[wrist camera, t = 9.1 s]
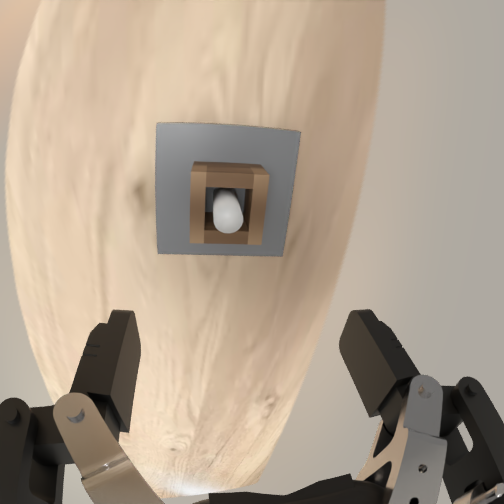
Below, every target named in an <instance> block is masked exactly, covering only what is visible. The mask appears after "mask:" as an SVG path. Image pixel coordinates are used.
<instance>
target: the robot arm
mask: <svg viewBox="0 0 504 504" xmlns="http://www.w3.org/2000/svg"><path fill="white" fill-rule="evenodd" d="M339 349H340V353H341V355H342V357H343V360H344V362H345V364H346V366H347V368H348V370H349V372H350V375H351V377H352V379H353V381H354V384H355V386H356V388H357V390H358V393H359V395H360V397H361V399H362V402H363V404H364V406H365V408H366V411H367V413H368V415H369V417H374V416H378V415H381V417H382V420H381V421H380V423H379V426H378V429H377V432H376V436H375V439H374V442H373V445H372V448H371V451H370V454H369V457H368V459H367V462H366V463H365V465H364V467H363V468H362V469H361V471H360V472H359V474H358V476H357V478H356V480H352V477H351V474H346V475H343V476H339V477H335V478H331V479H326V480H322V481H318V482H316V483H314V484H312V485H309V486H307V487H305V488H303V489H300V490H298V491H296V492H293V493H291V494H288V495H271V494H260V493H251V492H234V493H209V499H206V500H202V501H199V502H196V503H193V504H436V503H437V499H438V495H439V490H440V486H441V481H442V478H443V480H444V483H445V486H446V488H447V491H448V494H449V497H450V499H451V502H452V504H504V423H503V421H502V420H501V418H500V416H499V414H498V412H497V410H496V409H495V407H494V405H493V403H492V402H491V400H490V398H489V397H488V395H487V393H486V392H485V390H484V388H483V387H482V385H481V384H480V383H479V382H478V381H477V380H475V379H474V378H472V377H463V378H462V379H461V380H460V381H459V382H458V384H457V385H456V386H441V385H440V384H439V383H438V381H436V380H435V379H434V378H432V377H430V376H428V375H421V374H420V373H419V371H418V370H417V368H416V367H415V365H414V363H413V362H412V360H411V359H410V357H409V356H408V354H407V352H406V351H405V349H404V348H402V345H401V343H400V342H399V340H397V337H396V336H395V334H394V333H393V331H392V330H391V328H389V327H388V326H387V325H386V324H385V323H383V322H382V321H379V320H378V319H377V317H376V316H375V314H374V313H373V311H372V310H370V309H366V310H353V311H351V312H350V314H349V316H348V319H347V322H346V324H345V327H344V330H343V332H342V335H341V337H340V341H339ZM140 356H141V344H140V338H139V333H138V328H137V323H136V318H135V313H134V311H129V310H113V311H112V312H111V315H110V318H109V321H108V323H107V324H106V323H99V324H98V325H97V326H96V327H95V328H94V329H93V330H92V331H91V332H90V335H89V337H88V340H87V343H86V346H85V348H84V351H83V356H82V357H81V360H80V362H79V365H78V368H77V371H76V374H75V378H74V381H73V384H72V387H71V390H70V392H69V394H66V395H64V396H62V397H61V398H60V399H59V400H58V401H57V402H56V404H55V405H52V406H45V407H33V408H29V406H28V405H27V404H26V403H25V402H24V401H23V400H21V399H19V398H9V399H6V400H4V401H3V402H2V403H1V404H0V504H62V496H63V481H64V468H65V464H73V463H75V464H76V466H77V468H78V469H79V471H80V473H81V476H82V478H81V482H82V484H83V486H84V488H85V490H86V492H87V493H88V495H89V497H90V498H91V500H92V501H93V503H94V504H165V503H164V502H163V501H162V500H161V499H160V498H159V497H158V495H157V494H156V493H155V492H154V491H153V489H152V488H151V487H150V486H149V484H148V483H147V482H146V481H145V479H144V478H143V477H142V476H141V474H140V473H139V472H138V470H137V469H136V468H135V466H134V465H133V463H132V462H131V461H130V459H129V458H128V456H127V455H126V454H125V452H124V451H123V449H122V448H121V446H120V445H119V443H118V442H119V434H120V432H127V433H129V430H130V421H131V414H132V406H133V399H134V392H135V386H136V380H137V374H138V368H139V362H140ZM462 422H464V424H465V426H466V428H467V430H468V432H469V434H470V436H471V438H472V440H473V448H472V450H471V451H470V452H469V451H468V450H467V447H466V445H465V443H464V441H463V439H462V437H461V435H460V432H459V430H458V428H457V427H458V426H459V425H460V424H461V423H462Z"/></svg>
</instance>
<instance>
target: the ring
mask: <svg viewBox="0 0 504 504" xmlns="http://www.w3.org/2000/svg"><path fill="white" fill-rule="evenodd" d="M269 176H270V175H269V174H268V173H267V172H266V170H265V169H264V168H263V167H262V165H261V164H246V163H228V162H202V161H194V163H193V166H192V170H191V184H190V243H205V244H247V245H261V244H262V235H263V227H264V219H265V210H266V202H267V193H268V185H269ZM206 187H222V188H245V200H244V211H243V213H242V215H243V223H242V226H241V227H240V229H238V230H237V231H236V232H233V233H223V232H220V231H219V230H218V229H217V228H216V227H215V225H214V218H213V212H205V196H206Z"/></svg>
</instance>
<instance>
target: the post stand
mask: <svg viewBox="0 0 504 504" xmlns="http://www.w3.org/2000/svg"><path fill="white" fill-rule="evenodd" d="M300 135H301V132H299V131H294V130H286V129H278V128H268V127H258V126H246V125H232V124H214V123H157V127H156V163H155V191H156V228H157V248H158V254H191V255H236V256H283V250H284V244H285V238H286V232H287V225H288V219H289V212H290V206H291V199H292V192H293V185H294V178H295V171H296V164H297V157H298V150H299V142H300ZM194 161H202V162H228V163H246V164H261V165H262V167H263V168H264V169H265V170H266V172H267V173H268V174H269V175H270V176H269V185H268V193H267V202H266V210H265V219H264V227H263V235H262V244H261V245H247V244H205V243H190V184H191V170H192V166H193V163H194ZM244 200H245V188H222V187H206V196H205V212H213V218H214V225H215V227H216V228H217V229H218V230H219V231H220V232H223V233H233V232H236V231H237V230H238V229H240V227H241V226H242V223H243V215H242V213H243V211H244Z"/></svg>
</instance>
